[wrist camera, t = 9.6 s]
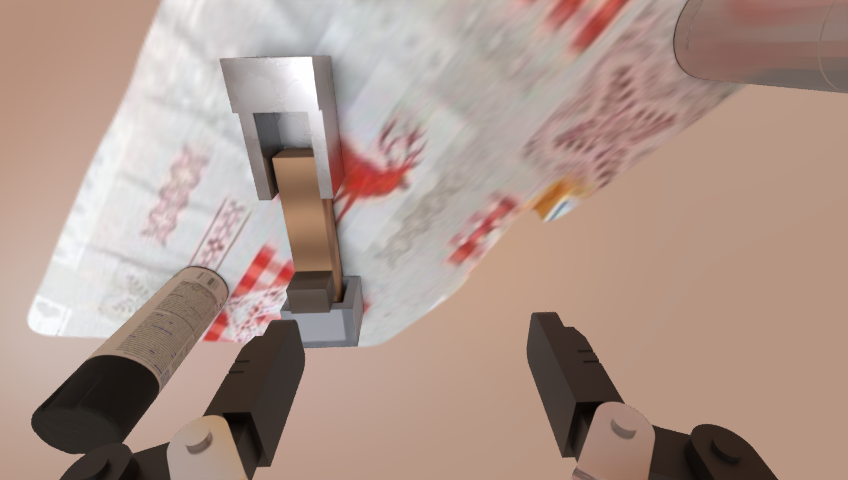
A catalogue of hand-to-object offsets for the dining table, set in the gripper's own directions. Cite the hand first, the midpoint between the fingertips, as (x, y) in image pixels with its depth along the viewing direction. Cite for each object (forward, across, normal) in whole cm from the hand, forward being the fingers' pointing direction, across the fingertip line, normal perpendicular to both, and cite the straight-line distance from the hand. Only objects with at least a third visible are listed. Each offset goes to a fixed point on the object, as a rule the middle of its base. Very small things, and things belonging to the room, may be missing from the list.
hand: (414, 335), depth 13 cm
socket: (+30, +12, +19) cm, 37 cm away
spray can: (+30, +28, +18) cm, 44 cm away
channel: (+30, +11, -2) cm, 32 cm away
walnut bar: (+28, +11, +10) cm, 32 cm away
